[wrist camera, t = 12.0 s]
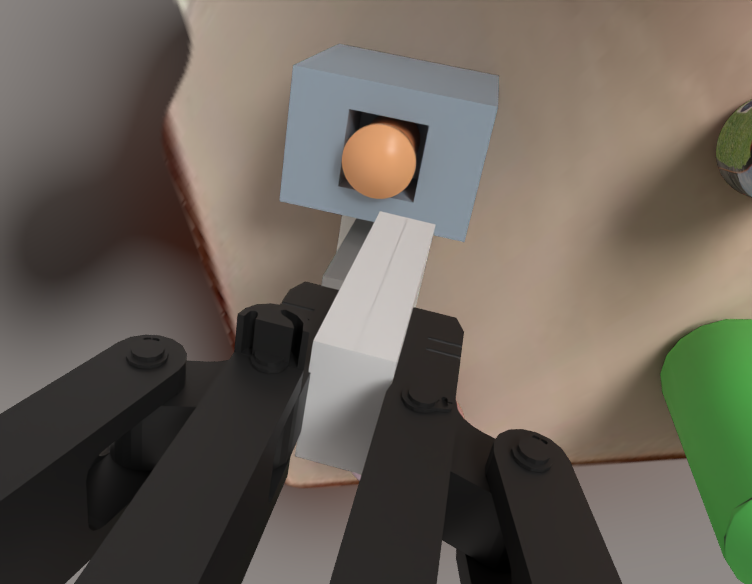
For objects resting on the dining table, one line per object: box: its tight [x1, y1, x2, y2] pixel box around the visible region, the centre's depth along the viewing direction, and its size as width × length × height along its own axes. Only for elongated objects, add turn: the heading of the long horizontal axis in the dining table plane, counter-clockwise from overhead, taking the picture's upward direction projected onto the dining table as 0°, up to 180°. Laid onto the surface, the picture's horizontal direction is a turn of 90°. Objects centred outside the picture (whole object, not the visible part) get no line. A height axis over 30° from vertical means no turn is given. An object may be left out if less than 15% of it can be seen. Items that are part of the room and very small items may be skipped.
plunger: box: [342, 115, 420, 199], centre depth 34 cm, size 4×4×5 cm
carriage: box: [321, 215, 374, 290], centre depth 39 cm, size 6×5×13 cm
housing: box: [280, 44, 499, 242], centre depth 37 cm, size 7×10×10 cm
